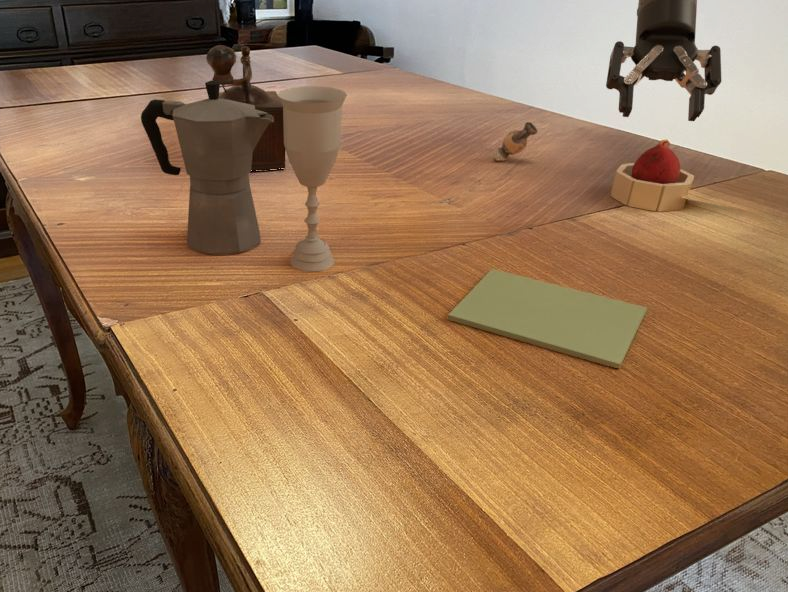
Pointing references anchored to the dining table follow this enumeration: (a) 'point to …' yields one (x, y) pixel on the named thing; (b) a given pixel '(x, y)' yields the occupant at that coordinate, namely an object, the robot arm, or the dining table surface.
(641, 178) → the onion
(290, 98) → the chalice
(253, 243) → the coffeepot
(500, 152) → the vase
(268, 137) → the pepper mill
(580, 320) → the mat
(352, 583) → the dining table surface
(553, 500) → the dining table surface
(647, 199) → the octagonal bowl
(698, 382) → the dining table surface
